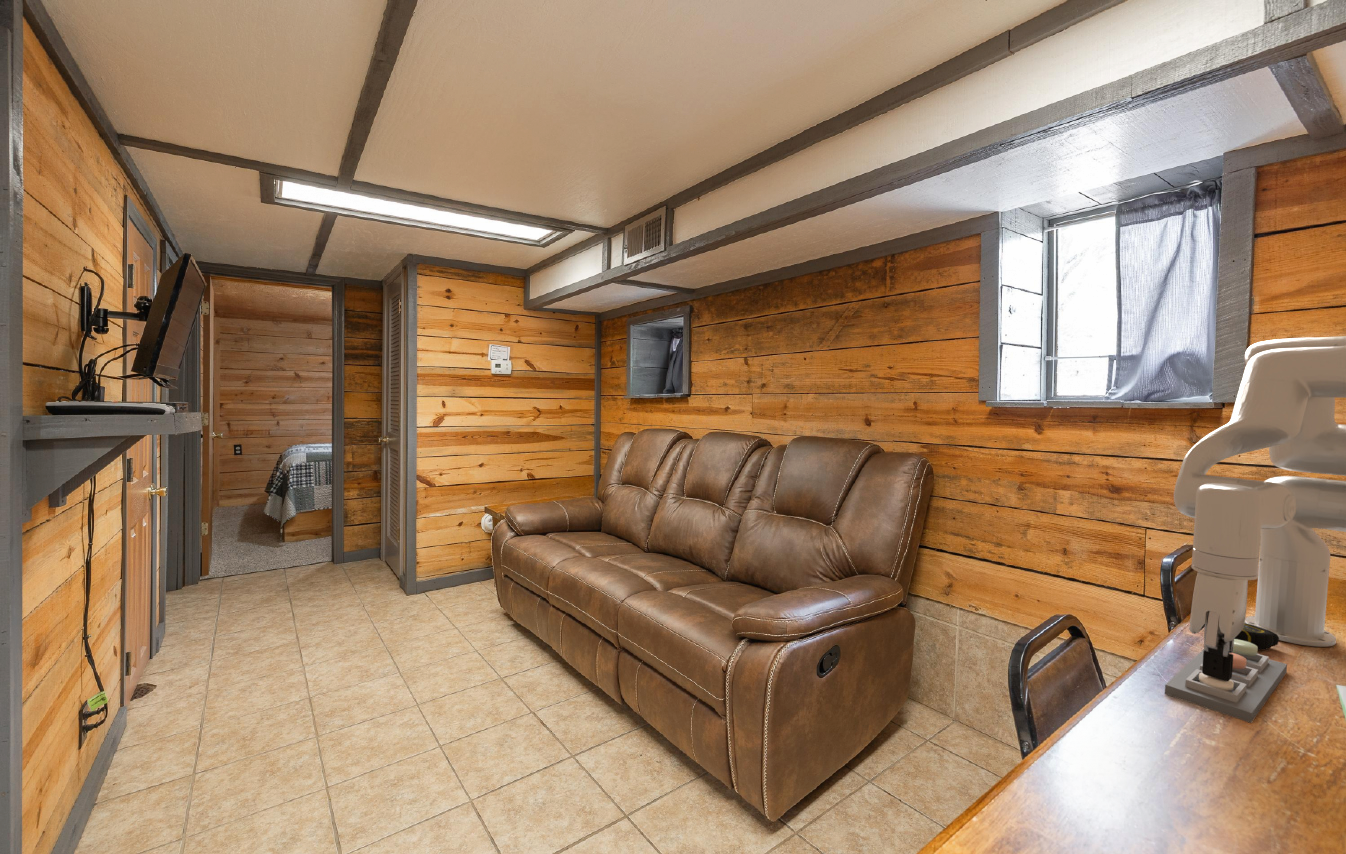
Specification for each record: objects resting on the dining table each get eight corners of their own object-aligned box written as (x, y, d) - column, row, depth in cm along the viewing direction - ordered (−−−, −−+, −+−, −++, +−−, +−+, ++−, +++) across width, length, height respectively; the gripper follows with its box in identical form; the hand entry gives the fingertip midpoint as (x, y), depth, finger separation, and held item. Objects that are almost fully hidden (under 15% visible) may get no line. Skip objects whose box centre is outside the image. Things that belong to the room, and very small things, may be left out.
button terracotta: (1216, 655, 99) (1216, 648, 99) (1248, 664, 96) (1249, 657, 96) (1209, 661, 97) (1210, 654, 97) (1242, 671, 94) (1243, 663, 94)
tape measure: (1280, 650, 109) (1282, 631, 109) (1257, 655, 107) (1258, 636, 106) (1235, 635, 115) (1237, 617, 115) (1212, 640, 113) (1214, 621, 113)
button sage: (1228, 643, 104) (1228, 636, 104) (1259, 651, 101) (1260, 644, 100) (1222, 649, 101) (1222, 642, 101) (1254, 657, 98) (1254, 650, 98)
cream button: (1202, 676, 95) (1202, 669, 95) (1236, 687, 91) (1236, 679, 91) (1195, 684, 92) (1195, 676, 92) (1229, 694, 89) (1230, 687, 89)
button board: (1209, 651, 108) (1210, 637, 108) (1286, 672, 100) (1287, 657, 100) (1164, 693, 93) (1165, 677, 93) (1251, 722, 85) (1252, 705, 85)
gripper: (1205, 549, 98) (1199, 654, 99) (1178, 566, 89) (1171, 680, 91) (1268, 560, 92) (1260, 672, 93) (1245, 579, 83) (1237, 702, 85)
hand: (1216, 676), depth 92 cm, fingers closed
